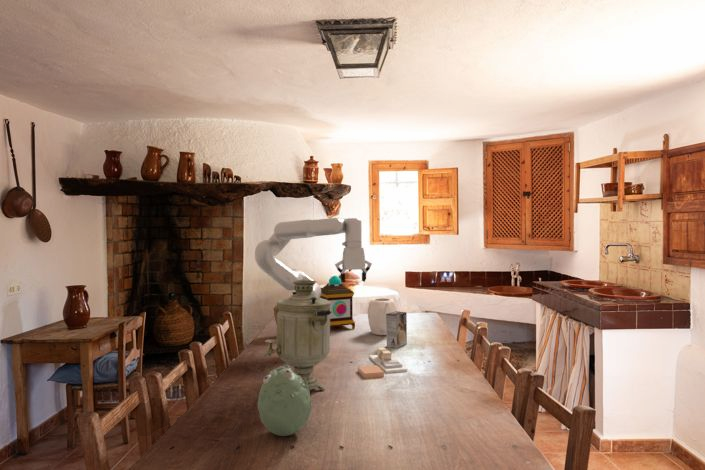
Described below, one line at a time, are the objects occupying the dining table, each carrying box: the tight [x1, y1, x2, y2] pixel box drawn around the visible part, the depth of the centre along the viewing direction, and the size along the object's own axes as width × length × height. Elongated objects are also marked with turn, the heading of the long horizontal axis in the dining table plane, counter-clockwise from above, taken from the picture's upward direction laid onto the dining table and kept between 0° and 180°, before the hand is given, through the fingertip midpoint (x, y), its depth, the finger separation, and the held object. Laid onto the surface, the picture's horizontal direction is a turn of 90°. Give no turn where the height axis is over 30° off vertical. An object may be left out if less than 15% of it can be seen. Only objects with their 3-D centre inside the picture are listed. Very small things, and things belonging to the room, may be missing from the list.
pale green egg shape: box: [257, 364, 313, 437], centre depth 153 cm, size 16×19×20 cm
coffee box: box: [386, 310, 408, 349], centre depth 257 cm, size 9×6×16 cm
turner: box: [377, 346, 403, 368], centre depth 224 cm, size 18×7×4 cm, turn 15°
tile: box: [357, 364, 385, 379], centre depth 211 cm, size 8×2×10 cm
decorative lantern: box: [320, 275, 356, 330], centre depth 298 cm, size 20×20×30 cm
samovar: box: [262, 279, 332, 392], centre depth 190 cm, size 30×26×40 cm
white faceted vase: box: [367, 297, 398, 336], centre depth 281 cm, size 16×27×19 cm, turn 7°
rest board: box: [368, 354, 408, 374], centre depth 224 cm, size 9×24×1 cm, turn 15°
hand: (353, 281), depth 242 cm, fingers open, 9 cm apart
